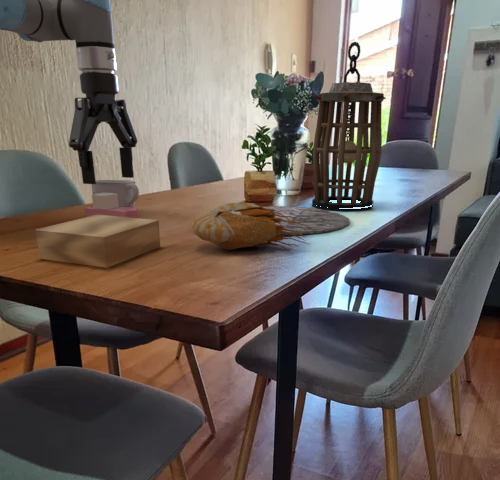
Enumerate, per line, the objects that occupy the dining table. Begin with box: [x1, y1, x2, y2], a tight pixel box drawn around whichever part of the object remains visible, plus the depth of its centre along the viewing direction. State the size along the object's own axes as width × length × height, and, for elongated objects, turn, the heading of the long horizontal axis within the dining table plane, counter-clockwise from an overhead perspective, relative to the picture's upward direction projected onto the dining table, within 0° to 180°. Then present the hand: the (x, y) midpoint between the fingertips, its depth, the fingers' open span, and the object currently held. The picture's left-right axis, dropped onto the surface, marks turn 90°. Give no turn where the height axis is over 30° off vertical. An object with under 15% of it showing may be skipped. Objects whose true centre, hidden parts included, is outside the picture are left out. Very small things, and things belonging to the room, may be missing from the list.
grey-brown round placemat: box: [264, 205, 351, 237], centre depth 121 cm, size 33×35×1 cm
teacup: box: [91, 179, 140, 208], centre depth 127 cm, size 14×11×8 cm
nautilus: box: [192, 202, 311, 252], centre depth 93 cm, size 8×22×15 cm
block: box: [35, 215, 161, 269], centre depth 90 cm, size 14×16×5 cm
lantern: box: [311, 41, 387, 213], centre depth 133 cm, size 19×19×40 cm
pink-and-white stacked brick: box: [84, 193, 140, 218], centre depth 114 cm, size 12×5×6 cm, turn 67°
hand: (109, 180), depth 112 cm, fingers open, 13 cm apart
